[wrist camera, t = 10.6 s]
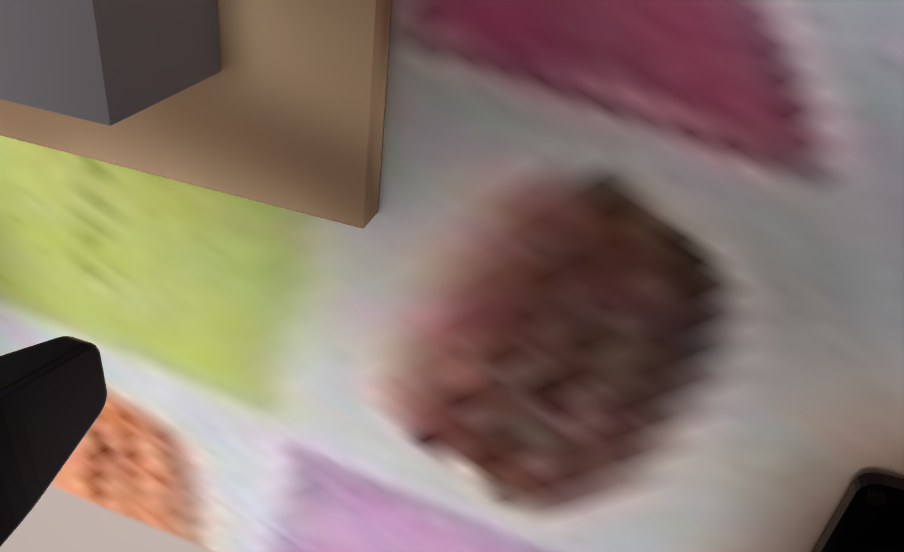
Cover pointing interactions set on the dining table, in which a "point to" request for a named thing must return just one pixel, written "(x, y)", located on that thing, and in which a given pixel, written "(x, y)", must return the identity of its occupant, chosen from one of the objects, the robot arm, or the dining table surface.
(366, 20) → the pin board
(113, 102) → the plug housing
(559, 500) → the dining table surface
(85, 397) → the robot arm
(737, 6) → the dining table surface
